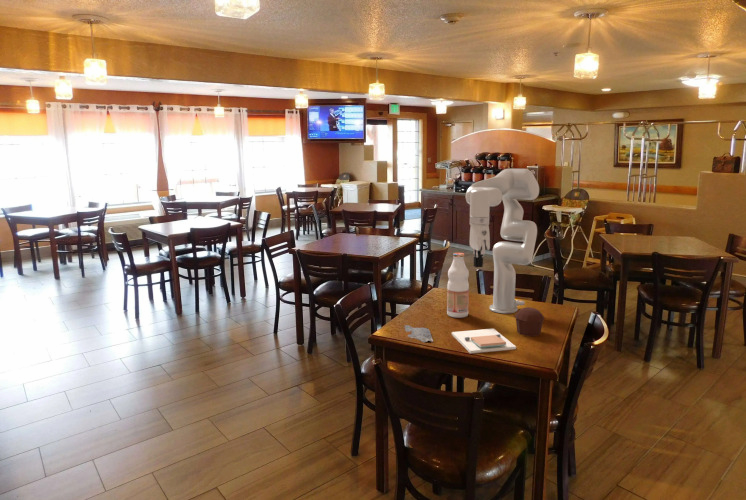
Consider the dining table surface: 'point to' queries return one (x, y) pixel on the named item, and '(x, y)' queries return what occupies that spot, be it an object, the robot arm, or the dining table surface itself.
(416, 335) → the stone slab
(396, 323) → the dining table surface
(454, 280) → the fruit juice
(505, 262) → the robot arm
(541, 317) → the muffin
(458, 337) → the board
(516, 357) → the dining table surface
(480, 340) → the tile
